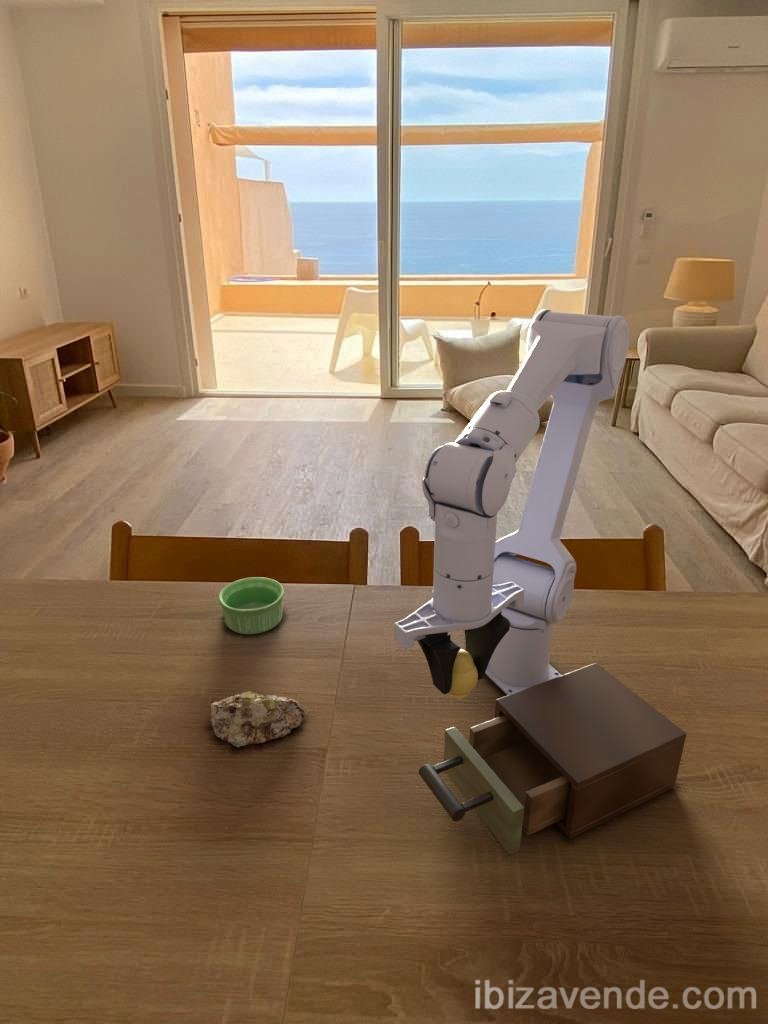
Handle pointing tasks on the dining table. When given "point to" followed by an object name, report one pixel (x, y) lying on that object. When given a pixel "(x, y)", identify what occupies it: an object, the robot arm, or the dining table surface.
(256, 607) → the ramekin
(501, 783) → the drawer
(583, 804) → the cabinet
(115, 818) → the dining table surface
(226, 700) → the mineral rock
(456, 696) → the yellow double-bulb knob
